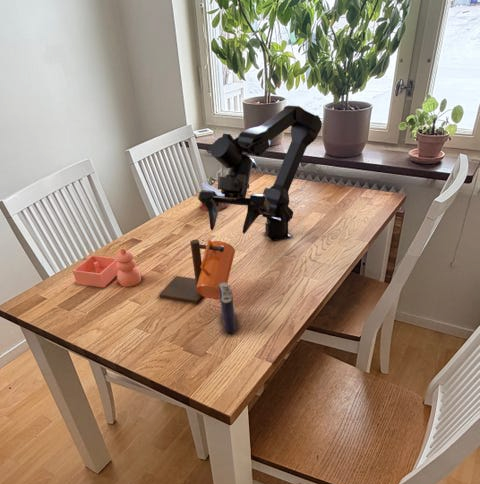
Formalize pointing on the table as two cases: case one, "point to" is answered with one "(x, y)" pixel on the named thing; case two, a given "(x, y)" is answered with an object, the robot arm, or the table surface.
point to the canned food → (210, 188)
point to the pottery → (108, 270)
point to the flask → (227, 308)
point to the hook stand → (187, 286)
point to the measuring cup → (215, 269)
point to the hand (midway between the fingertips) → (227, 231)
